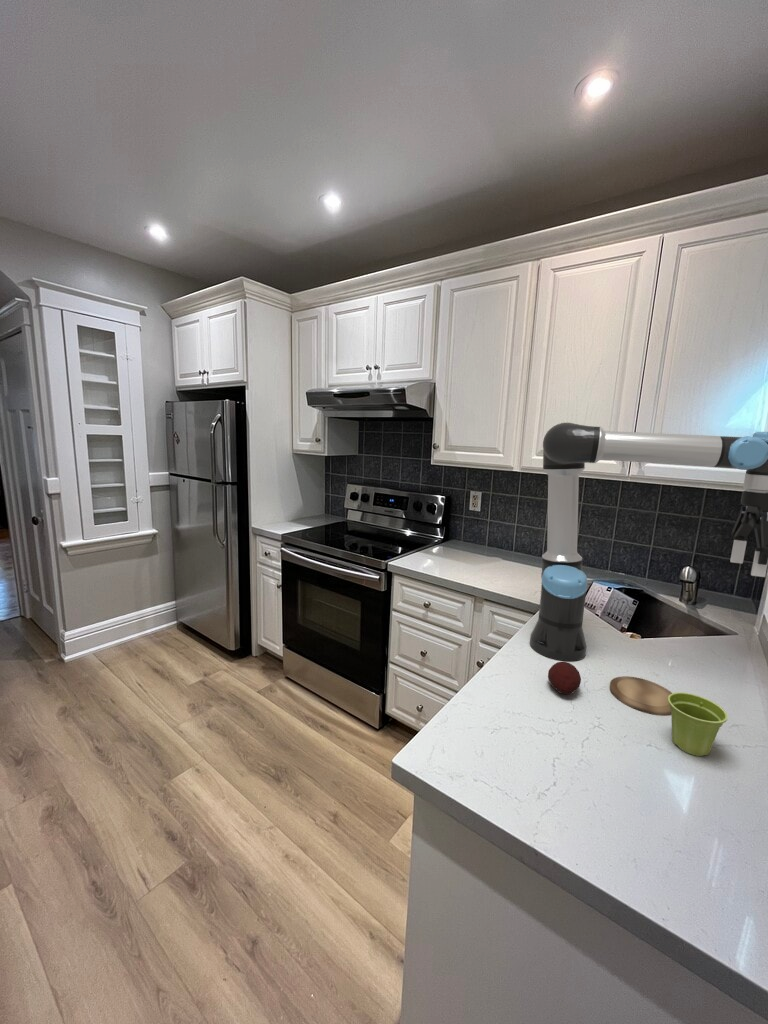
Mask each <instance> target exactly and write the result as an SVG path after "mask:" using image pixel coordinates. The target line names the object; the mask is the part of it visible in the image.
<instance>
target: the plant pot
mask: <svg viewBox="0 0 768 1024" xmlns="http://www.w3.org/2000/svg"><path fill="white" fill-rule="evenodd" d="M668 702H669V704H670V708H671V740H672V743H673V744H674V745H677V747H678V748H679V749H680V750H681V751H684V752H685V753H687V754H690V755H692V756H697V757H702V756H708V755H710V752H711V750H712V748H713V745H714V742H715V740H716V737H717V735H718V733H719V730H720V728H721V727H722V726H723V725H724V723H726V722H727V721H728V717H729V716H728V713H727V712H726V711H725V710H724V709H723V708H722V706H720V705H718V704H717V703H715V702H713V701H712V700H710V699H708V698H705V697H703V696H700V695H696V694H693V693H688V692H672V694H670V695H669V696H668Z"/></svg>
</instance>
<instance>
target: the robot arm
mask: <svg viewBox="0 0 768 1024" xmlns="http://www.w3.org/2000/svg"><path fill="white" fill-rule="evenodd" d="M543 437H544V438H543V440H542V450H543V451H542V452H543V453H542V470H543V471H544V473H546V475H547V476H548V477H547V479H548V480H547V484H548V485H547V534H546V535H547V536H546V537H547V540H546V541H547V542H546V543H547V544H546V545H547V548H546V551H545V552H544V553H543V554H542V555H541V573H540V574H541V575H540V577H541V589H540V590H541V591H540V599H539V600H540V601H539V610H538V619H537V622H536V624H535V625H534V627H533V630H532V631H531V633H530V638H529V645H530V648H532V649H533V651H535V652H537V653H538V654H539V655H542V656H544V657H547V658H548V659H549V658H550V659H553V660H558V661H562V662H575V661H576V662H577V661H580V660H583V659H584V658H585V657H586V655H587V642H586V638H585V634H584V629H583V622H584V621H583V620H584V615H585V614H584V612H585V605H586V604H585V603H586V595H587V590H588V577H587V575H586V573H585V572H584V571H583V557H582V556H581V555H580V554H579V552H578V531H579V530H578V528H579V527H578V526H579V525H578V523H579V487H580V486H579V485H580V483H579V482H580V481H579V480H580V477H579V476H580V475H581V473H582V472H583V471H584V470H585V468H586V467H585V466H586V465H585V464H586V463H587V464H596V463H598V462H599V461H615V462H617V461H618V462H631V463H648V464H663V465H665V464H666V465H677V466H678V465H679V466H694V467H709V468H710V467H711V468H723V469H738V470H742V471H743V470H745V474H744V479H743V485H742V488H743V489H744V490H743V491H742V492H741V499H740V504H741V505H742V506H741V507H740V511H739V513H738V516H737V519H736V521H735V524H734V526H733V528H732V531H731V532H730V533H731V534H730V535H731V536H732V537H733V544H732V550H731V555H730V563H734V564H743V563H744V560H745V559H744V558H745V554H746V548H747V543H748V540H749V538H748V537H749V534H750V533H751V532H752V530H753V531H754V536H755V542H756V547H755V548H754V555H753V560H752V561H753V562H752V565H751V570H750V576H752V577H761V578H766V576H767V575H766V574H767V569H768V431H756V432H754V433H753V434H752V436H746V435H745V436H728V435H727V436H722V435H703V434H701V435H700V434H682V433H681V434H680V433H663V432H661V433H659V432H658V433H656V432H637V431H636V432H635V431H634V432H633V431H614V430H613V431H611V430H604V428H603V427H601V426H595V425H594V426H592V425H591V426H590V425H584V424H578V423H573V422H561V423H558V424H555V425H553V426H552V427H550V428H549V429H548V430H547V431H546V434H545V435H544V436H543Z"/></svg>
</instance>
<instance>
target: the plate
mask: <svg viewBox="0 0 768 1024" xmlns="http://www.w3.org/2000/svg"><path fill="white" fill-rule="evenodd" d="M609 691H610V693H611V694H612V696H613V697H614V698H615V699H617V701H619V702H621V703H622V704H623V705H625V706H628V708H629V707H630V708H632V709H633V710H636V711H638V712H643V713H644V714H649V715H655V716H672V714H671V708H670V704H669V702H668V696H669V695H670V694H672V693H673V692H672V691H670V690H669V689H668V688H666V687H664V686H662V685H660V684H658V683H656V682H654V681H650V680H648V679H645V678H640V677H637V676H636V677H635V676H629V675H628V676H625V675H624V676H622V675H621V676H616V677H614V678H612V679H611V680H610V683H609Z"/></svg>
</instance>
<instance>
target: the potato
mask: <svg viewBox="0 0 768 1024" xmlns="http://www.w3.org/2000/svg"><path fill="white" fill-rule="evenodd" d="M547 678H548V681H549V683H550V684H551V687H553V689H555V690H556V691H557V692H559V693H560V694H563V695H571V694H573V693H574V692H576V691H577V690H579V687H580V686H581V683H582V681H581V680H582V679H581V673H580V671H579V670H578V669H577V667H576V666H575V665H574V664H572V663H571V662H569V661H558V662H556V663H553V665H552V666H551V667H550V668H549V669H548V673H547Z"/></svg>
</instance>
